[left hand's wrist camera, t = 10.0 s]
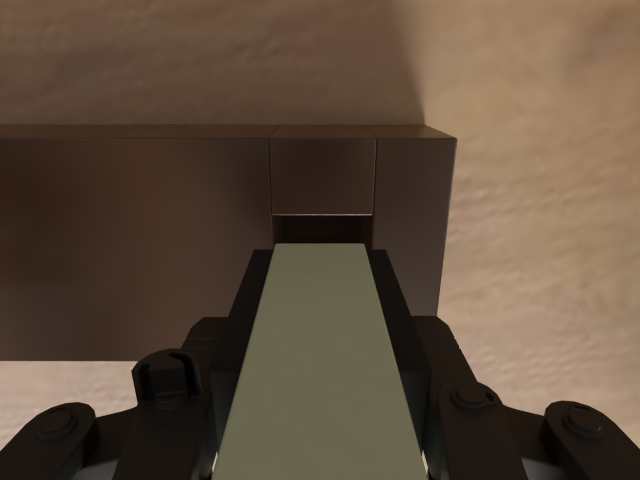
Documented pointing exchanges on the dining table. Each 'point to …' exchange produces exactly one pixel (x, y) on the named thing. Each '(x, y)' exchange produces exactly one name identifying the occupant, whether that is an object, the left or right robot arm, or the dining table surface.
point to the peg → (319, 378)
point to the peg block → (194, 222)
